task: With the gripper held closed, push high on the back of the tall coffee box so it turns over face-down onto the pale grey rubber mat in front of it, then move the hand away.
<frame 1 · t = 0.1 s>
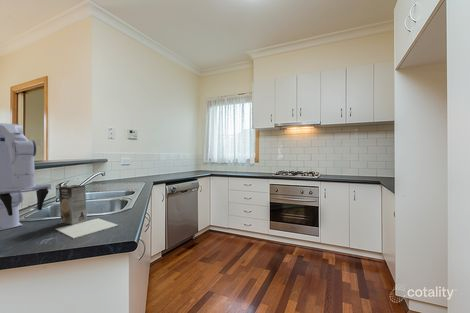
hand: (25, 212, 78), 10 cm above the countertop, tool pointing down, fingers open, 7 cm apart
mat: (87, 227, 90), on the countertop
coffee box: (74, 222, 98), on the countertop, touching mat
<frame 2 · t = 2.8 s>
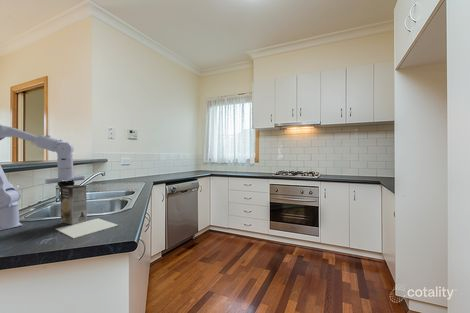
hand: (66, 197, 102), 10 cm above the countertop, tool pointing down, fingers closed
coffee box: (74, 222, 98), on the countertop, touching gripper, mat
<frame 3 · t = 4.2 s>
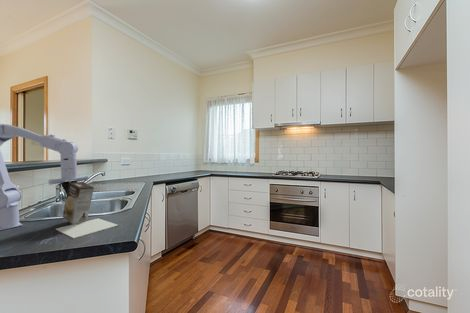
hand: (70, 198, 99), 10 cm above the countertop, tool pointing down, fingers closed, pressing on coffee box
coffee box: (74, 219, 98), point 1 cm above the countertop, touching gripper, mat
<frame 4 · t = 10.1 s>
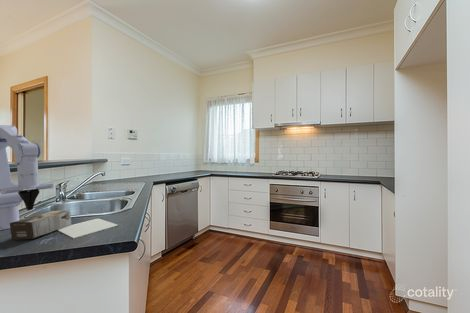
hand: (29, 209, 84), 9 cm above the countertop, tool pointing down, fingers closed
coffee box: (62, 217, 94), point 3 cm above the countertop, touching mat
at the end: coffee box tilted 90°; coffee box touching mat, countertop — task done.
